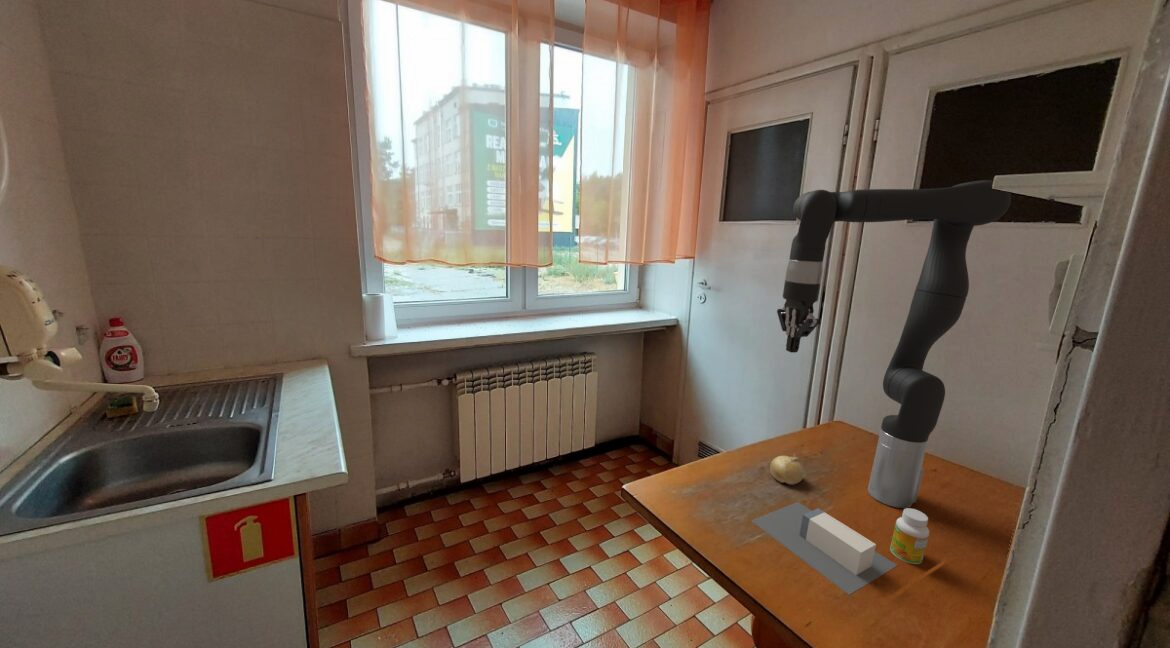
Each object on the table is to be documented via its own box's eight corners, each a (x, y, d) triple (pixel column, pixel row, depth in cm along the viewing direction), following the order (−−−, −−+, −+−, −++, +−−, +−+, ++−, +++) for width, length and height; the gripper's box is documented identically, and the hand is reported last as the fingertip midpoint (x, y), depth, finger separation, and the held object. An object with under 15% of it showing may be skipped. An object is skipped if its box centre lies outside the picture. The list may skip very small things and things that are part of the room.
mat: (750, 522, 97) (750, 520, 97) (797, 503, 105) (797, 501, 104) (848, 597, 78) (849, 594, 78) (897, 567, 86) (897, 565, 86)
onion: (792, 493, 109) (796, 467, 107) (762, 478, 115) (766, 453, 113) (807, 482, 114) (811, 457, 112) (778, 468, 120) (781, 444, 118)
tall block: (803, 514, 92) (861, 552, 82) (818, 508, 94) (876, 544, 84) (799, 535, 93) (856, 575, 83) (814, 528, 95) (871, 566, 85)
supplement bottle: (883, 546, 91) (892, 505, 89) (907, 546, 92) (917, 505, 90) (903, 566, 86) (914, 523, 84) (928, 565, 87) (940, 523, 84)
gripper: (837, 284, 96) (824, 359, 100) (798, 276, 109) (788, 344, 113) (807, 283, 95) (795, 360, 99) (771, 276, 107) (761, 344, 111)
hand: (791, 351), depth 106 cm, fingers closed
